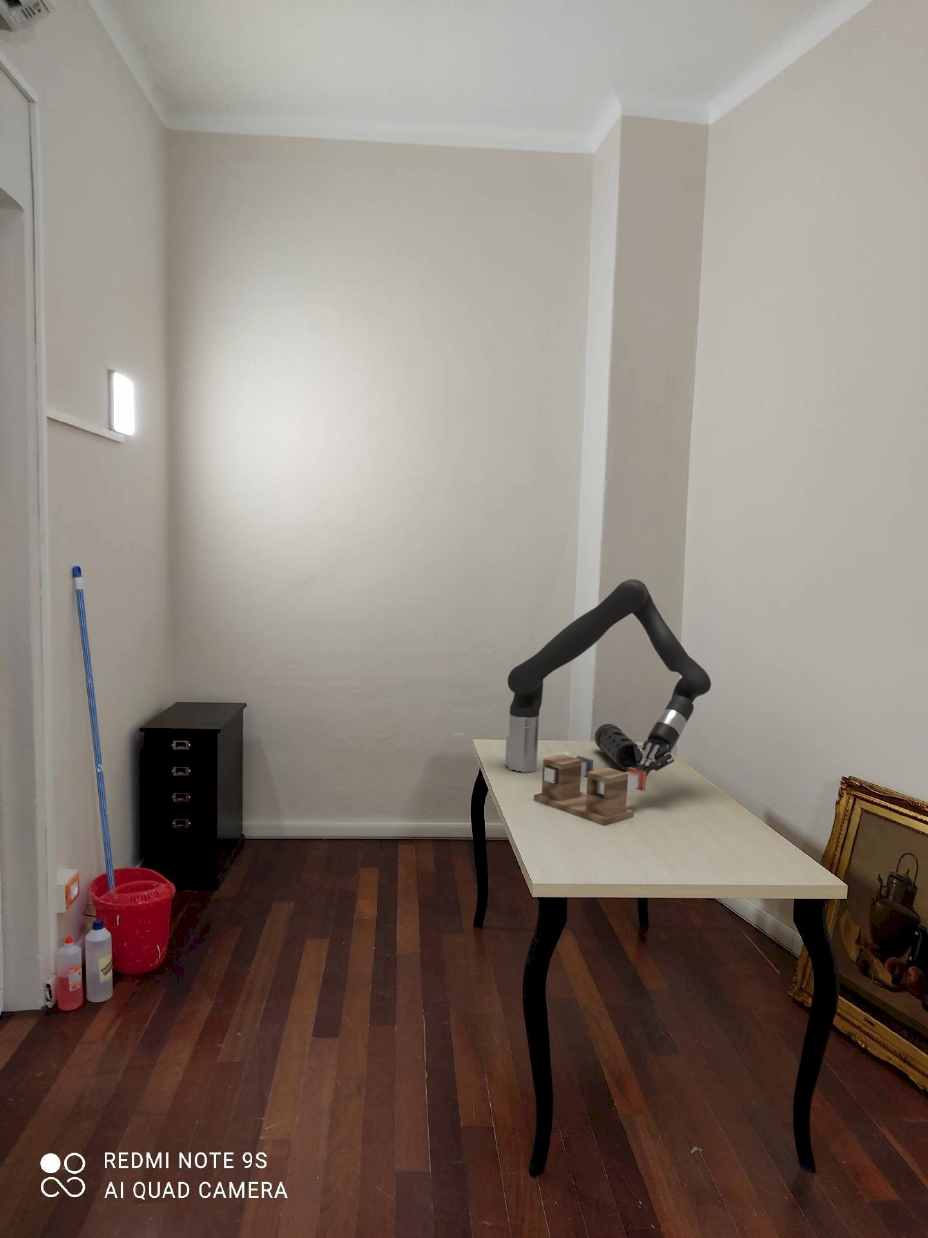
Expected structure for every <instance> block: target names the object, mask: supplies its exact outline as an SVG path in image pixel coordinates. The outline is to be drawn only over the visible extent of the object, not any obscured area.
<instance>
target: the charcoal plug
mask: <svg viewBox="0 0 928 1238" xmlns="http://www.w3.org/2000/svg"><path fill="white" fill-rule="evenodd" d="M576 758H577V759H580V760H582V764H581V778H582V777H584V778H587V777H588V772H590V771H594V759H592V758H587V757H584V756H581V755H577V756H576ZM544 780H545V781H548V782H551V783H557V782H558V768H555V767H551V766H549V767H545V773H544Z"/></svg>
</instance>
